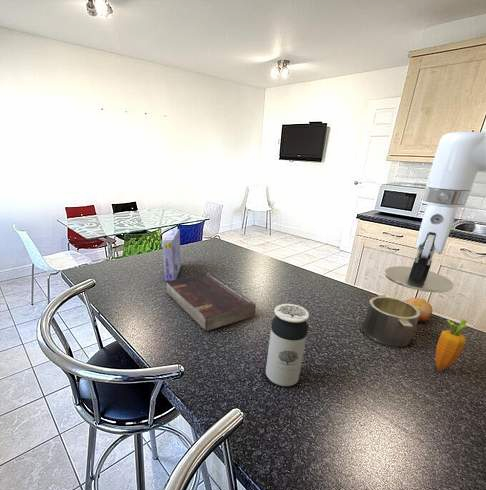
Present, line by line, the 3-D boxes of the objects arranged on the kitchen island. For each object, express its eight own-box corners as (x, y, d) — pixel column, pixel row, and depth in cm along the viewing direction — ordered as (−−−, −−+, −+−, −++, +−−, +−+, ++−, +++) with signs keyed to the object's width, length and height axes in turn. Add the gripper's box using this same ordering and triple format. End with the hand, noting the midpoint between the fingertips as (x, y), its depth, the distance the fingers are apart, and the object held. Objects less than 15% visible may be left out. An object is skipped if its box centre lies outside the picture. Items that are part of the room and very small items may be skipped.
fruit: (427, 310, 99) (435, 297, 93) (425, 330, 96) (433, 318, 90) (400, 304, 103) (406, 291, 97) (397, 322, 99) (403, 310, 93)
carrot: (432, 375, 73) (453, 324, 67) (424, 362, 77) (443, 313, 71) (455, 379, 72) (479, 327, 66) (445, 365, 76) (466, 316, 70)
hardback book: (254, 315, 97) (256, 302, 95) (206, 332, 87) (206, 317, 85) (209, 283, 119) (209, 271, 117) (166, 293, 110) (166, 281, 108)
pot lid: (431, 272, 74) (439, 249, 72) (466, 297, 62) (477, 270, 60) (374, 268, 76) (381, 246, 74) (398, 292, 64) (406, 266, 61)
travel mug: (269, 360, 76) (276, 300, 69) (300, 369, 74) (311, 307, 66) (262, 381, 69) (270, 316, 62) (296, 391, 67) (309, 324, 60)
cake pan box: (171, 264, 137) (170, 227, 130) (181, 264, 137) (181, 227, 130) (163, 281, 119) (161, 240, 112) (175, 282, 119) (174, 240, 112)
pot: (394, 319, 96) (402, 294, 92) (423, 355, 80) (435, 325, 76) (354, 316, 98) (361, 291, 94) (375, 350, 81) (383, 321, 77)
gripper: (468, 204, 53) (434, 294, 61) (466, 195, 65) (438, 271, 72) (419, 199, 57) (393, 284, 65) (426, 191, 69) (403, 263, 77)
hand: (417, 276), depth 69 cm, fingers closed on pot lid, 2 cm apart
